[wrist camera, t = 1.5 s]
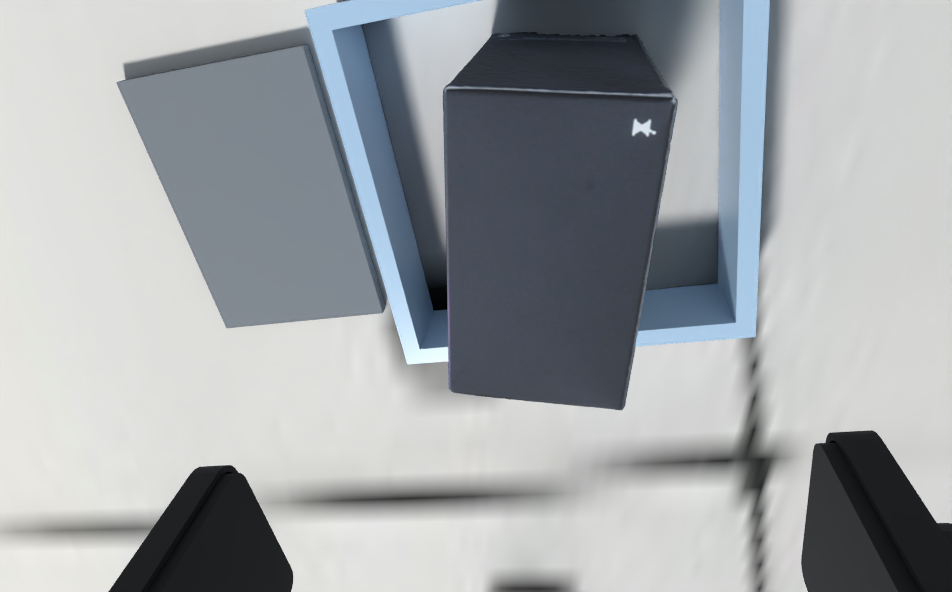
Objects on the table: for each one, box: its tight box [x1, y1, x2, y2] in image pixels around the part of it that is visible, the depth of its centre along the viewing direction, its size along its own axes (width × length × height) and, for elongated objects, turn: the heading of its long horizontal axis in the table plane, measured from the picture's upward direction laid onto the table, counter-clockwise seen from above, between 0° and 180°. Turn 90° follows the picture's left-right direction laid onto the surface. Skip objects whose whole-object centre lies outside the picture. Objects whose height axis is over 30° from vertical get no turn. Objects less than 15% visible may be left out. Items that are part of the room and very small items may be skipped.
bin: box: [304, 0, 770, 364], centre depth 25 cm, size 16×16×4 cm
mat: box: [116, 44, 385, 328], centre depth 29 cm, size 9×13×1 cm
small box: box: [443, 32, 678, 410], centre depth 22 cm, size 11×6×10 cm, turn 0°
